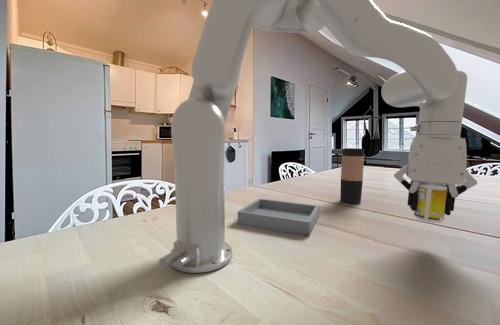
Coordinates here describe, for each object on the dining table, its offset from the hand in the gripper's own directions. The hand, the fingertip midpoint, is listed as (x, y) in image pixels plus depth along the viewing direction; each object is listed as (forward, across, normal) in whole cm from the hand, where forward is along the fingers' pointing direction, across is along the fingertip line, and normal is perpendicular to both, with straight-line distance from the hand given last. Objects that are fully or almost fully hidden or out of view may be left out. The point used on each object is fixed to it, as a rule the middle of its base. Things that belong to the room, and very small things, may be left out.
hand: (429, 210), depth 56 cm
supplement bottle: (+2, 0, 0) cm, 2 cm away
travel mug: (+8, -17, +32) cm, 38 cm away
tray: (+9, -35, +2) cm, 36 cm away
